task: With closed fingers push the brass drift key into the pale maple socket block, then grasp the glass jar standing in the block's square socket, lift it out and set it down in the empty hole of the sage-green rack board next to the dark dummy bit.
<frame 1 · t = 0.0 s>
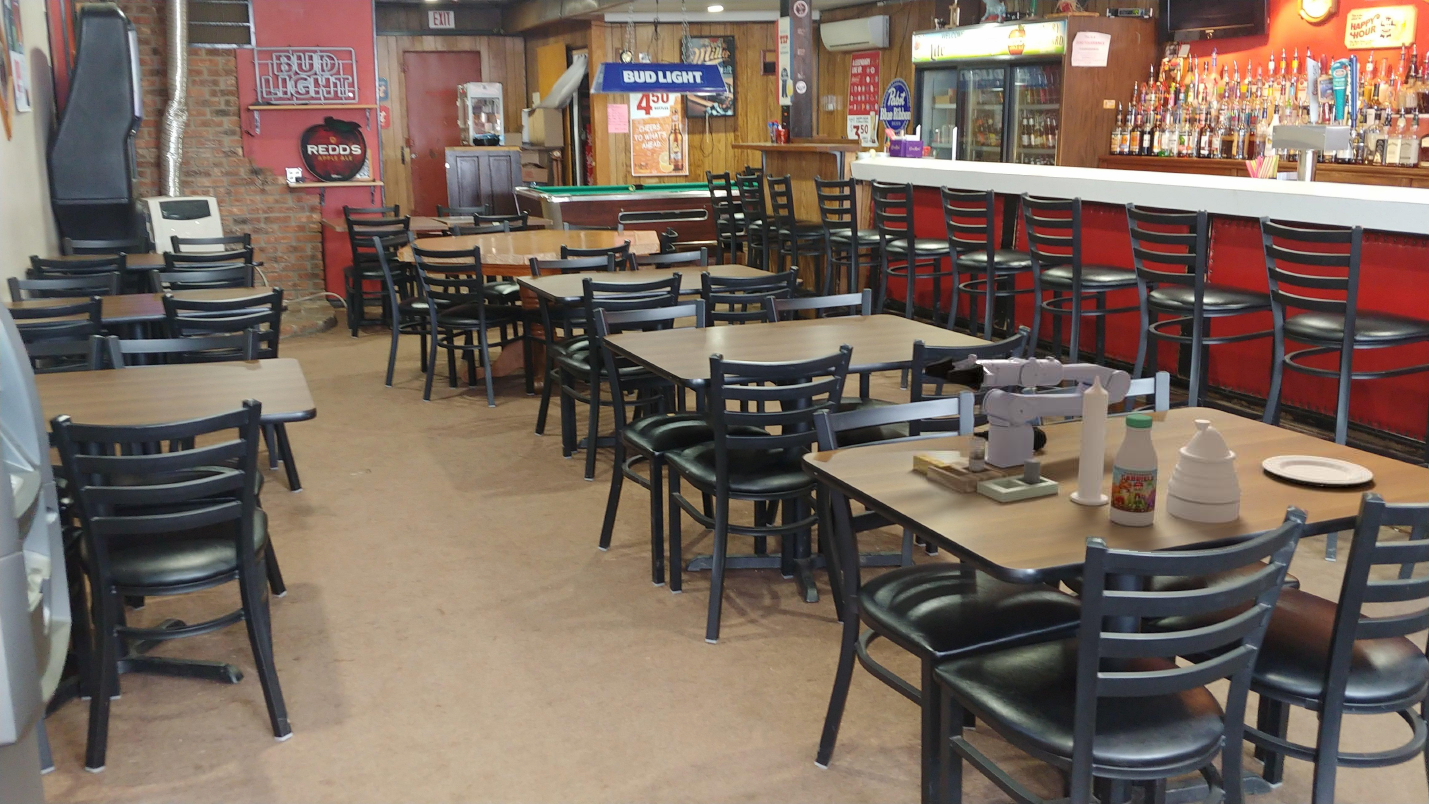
hand: (936, 373, 239), 22 cm above the table, tool horizontal, fingers open, 7 cm apart
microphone: (1010, 444, 267), on the table
honey pot: (1201, 512, 218), on the table
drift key: (931, 466, 243), point 2 cm above the table, slide at 0.0 cm
rack: (1017, 492, 230), on the table
plate: (1315, 477, 240), on the table
socket block: (968, 481, 238), on the table
glass jar: (975, 480, 238), resting in socket block
milk bottle: (1131, 521, 213), on the table
candle: (1088, 501, 225), on the table
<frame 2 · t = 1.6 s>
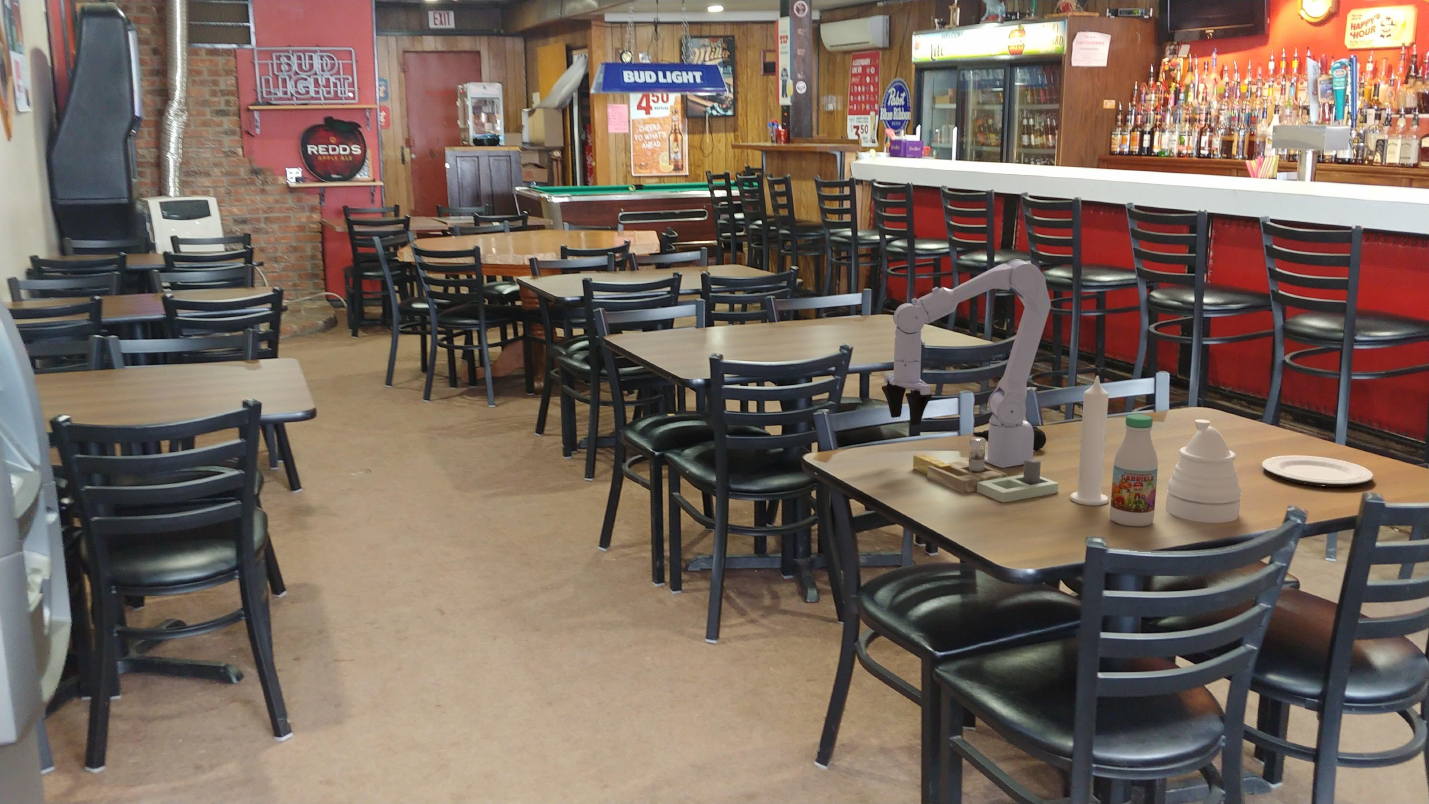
hand: (905, 420, 250), 9 cm above the table, tool pointing down, fingers open, 7 cm apart
nothing on the table moved.
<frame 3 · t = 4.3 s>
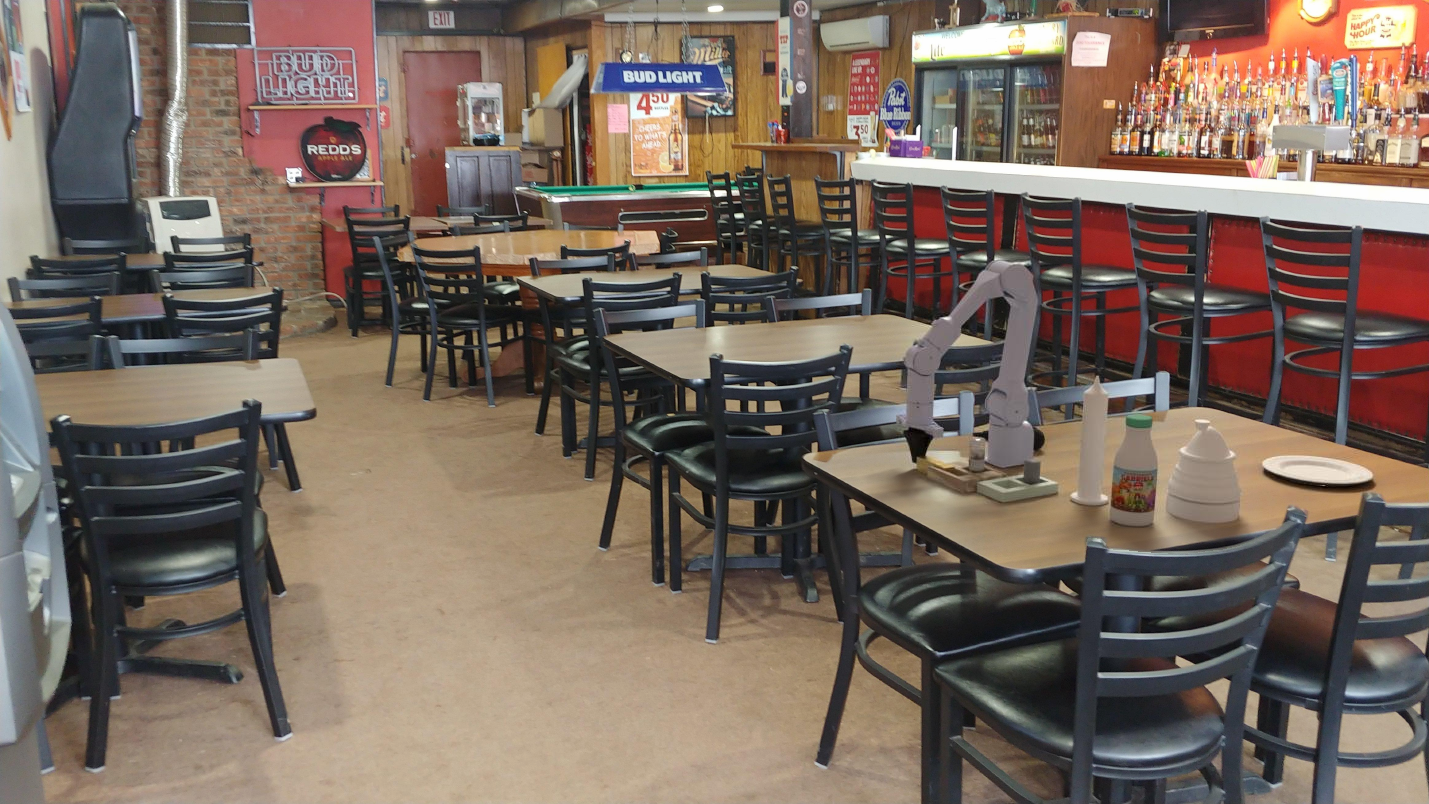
hand: (918, 462, 247), 1 cm above the table, tool pointing down, fingers closed
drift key: (935, 468, 242), point 2 cm above the table, slide at 1.2 cm, touching gripper
everything else where it was.
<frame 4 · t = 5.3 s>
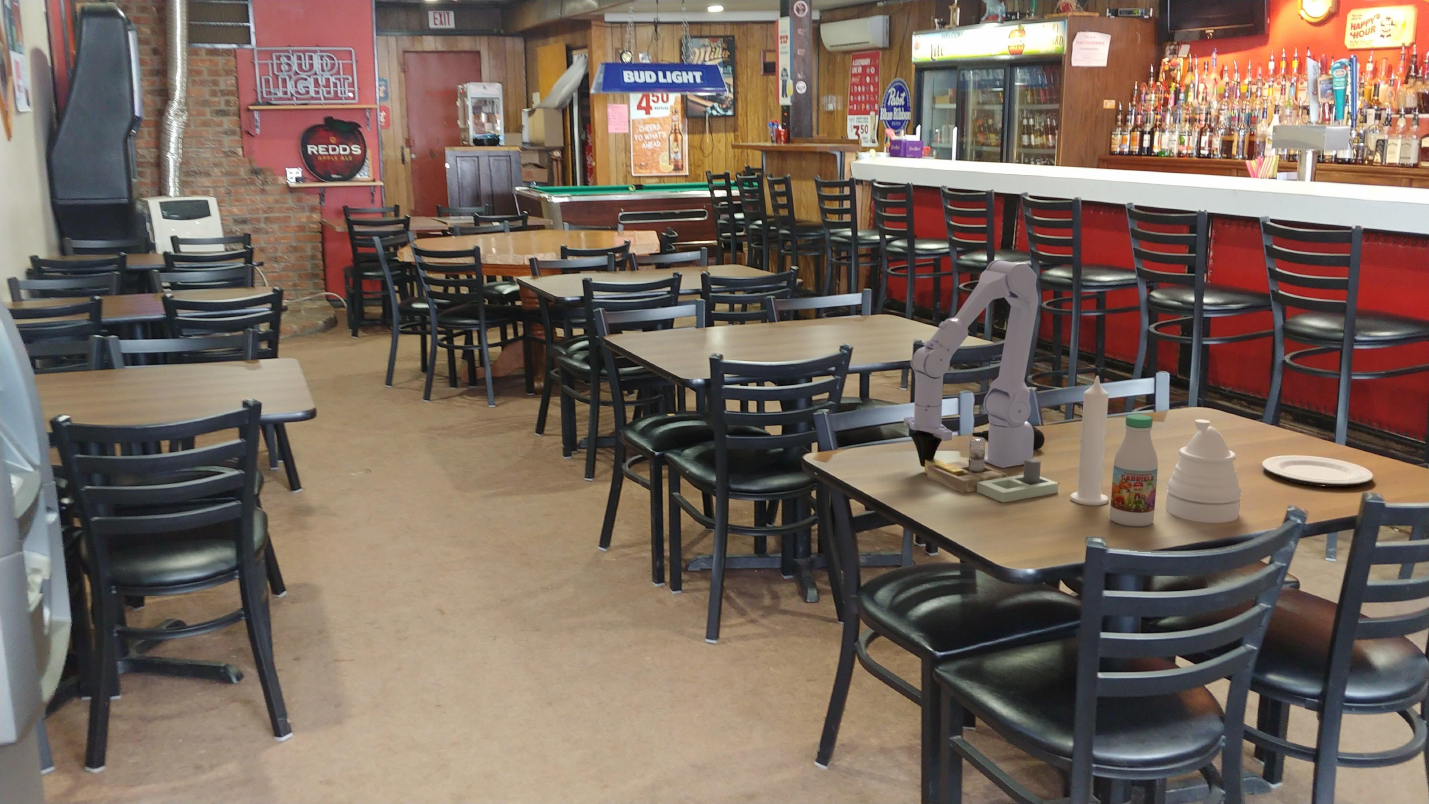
hand: (926, 465, 245), 1 cm above the table, tool pointing down, fingers closed
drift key: (943, 471, 239), point 2 cm above the table, slide at 4.2 cm, touching gripper
everything else where it was.
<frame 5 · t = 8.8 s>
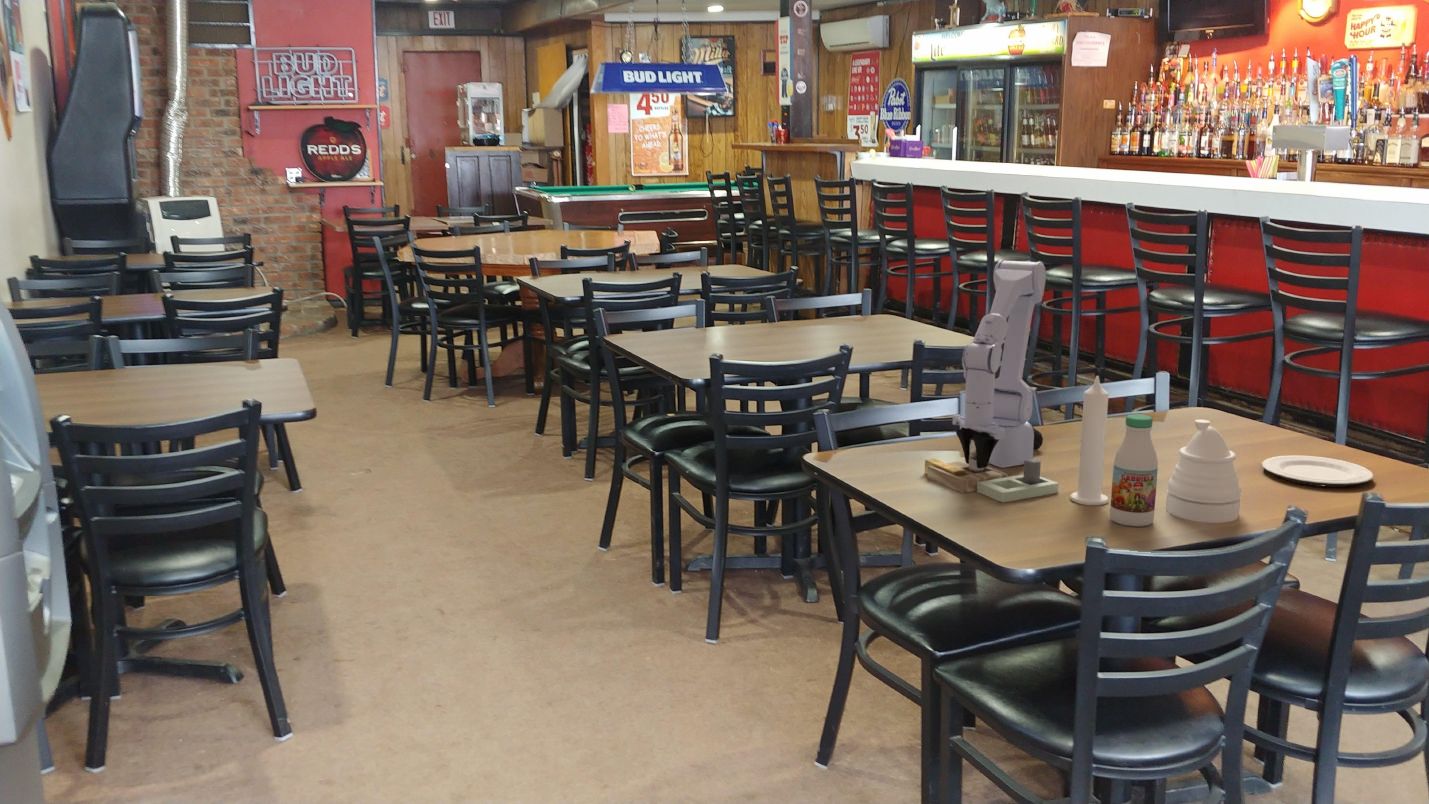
hand: (976, 465, 237), 3 cm above the table, tool pointing down, fingers closed on glass jar, 3 cm apart
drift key: (943, 471, 239), point 2 cm above the table, slide at 4.2 cm
glass jar: (975, 480, 238), resting in socket block, touching gripper
everything else where it was.
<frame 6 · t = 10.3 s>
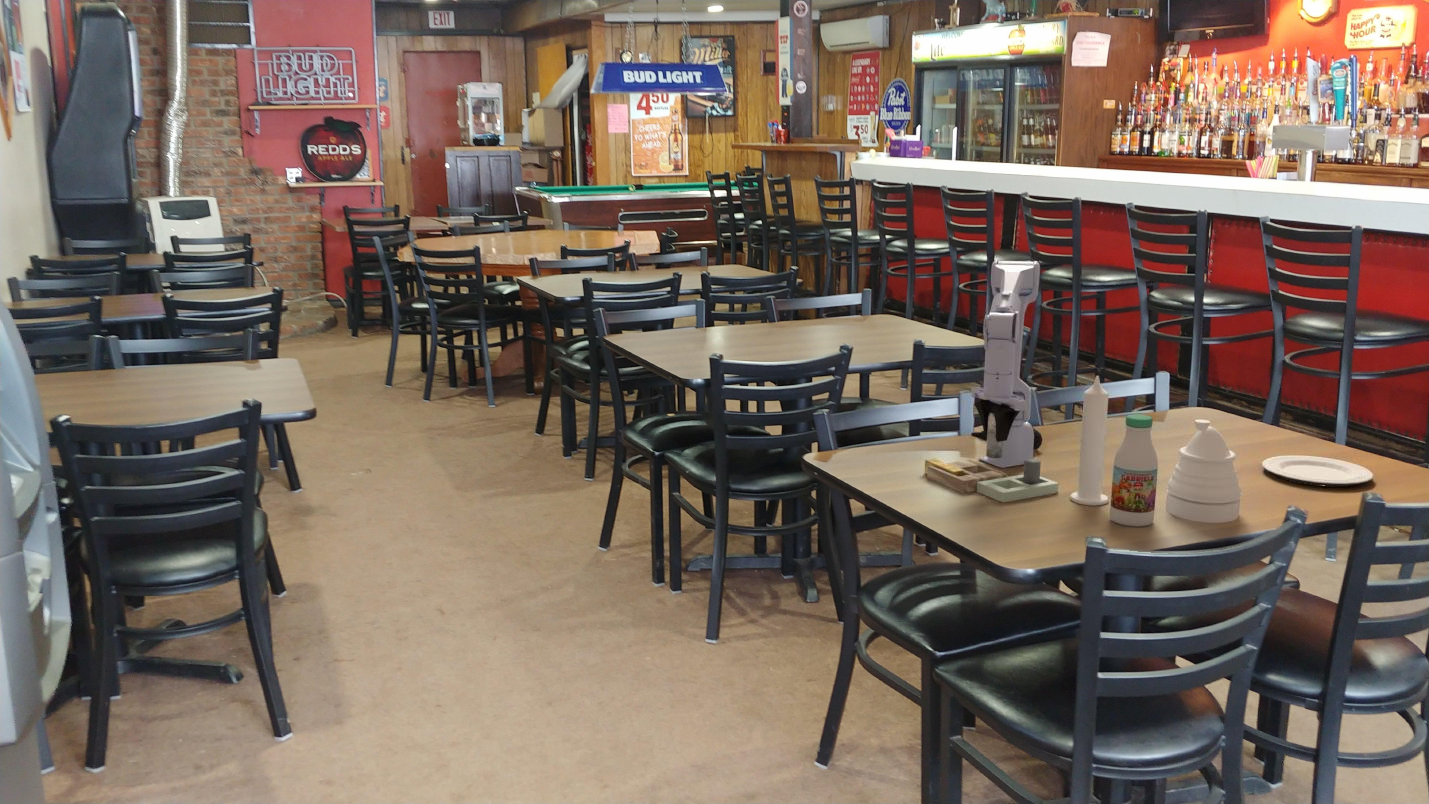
hand: (995, 438, 230), 11 cm above the table, tool pointing down, fingers closed on glass jar, 3 cm apart
glass jar: (994, 456, 231), point 7 cm above the table, touching gripper
everything else where it was.
when the fingers open (4 cm above the table, at t = 12.0 s): glass jar stays where it is, resting in rack.
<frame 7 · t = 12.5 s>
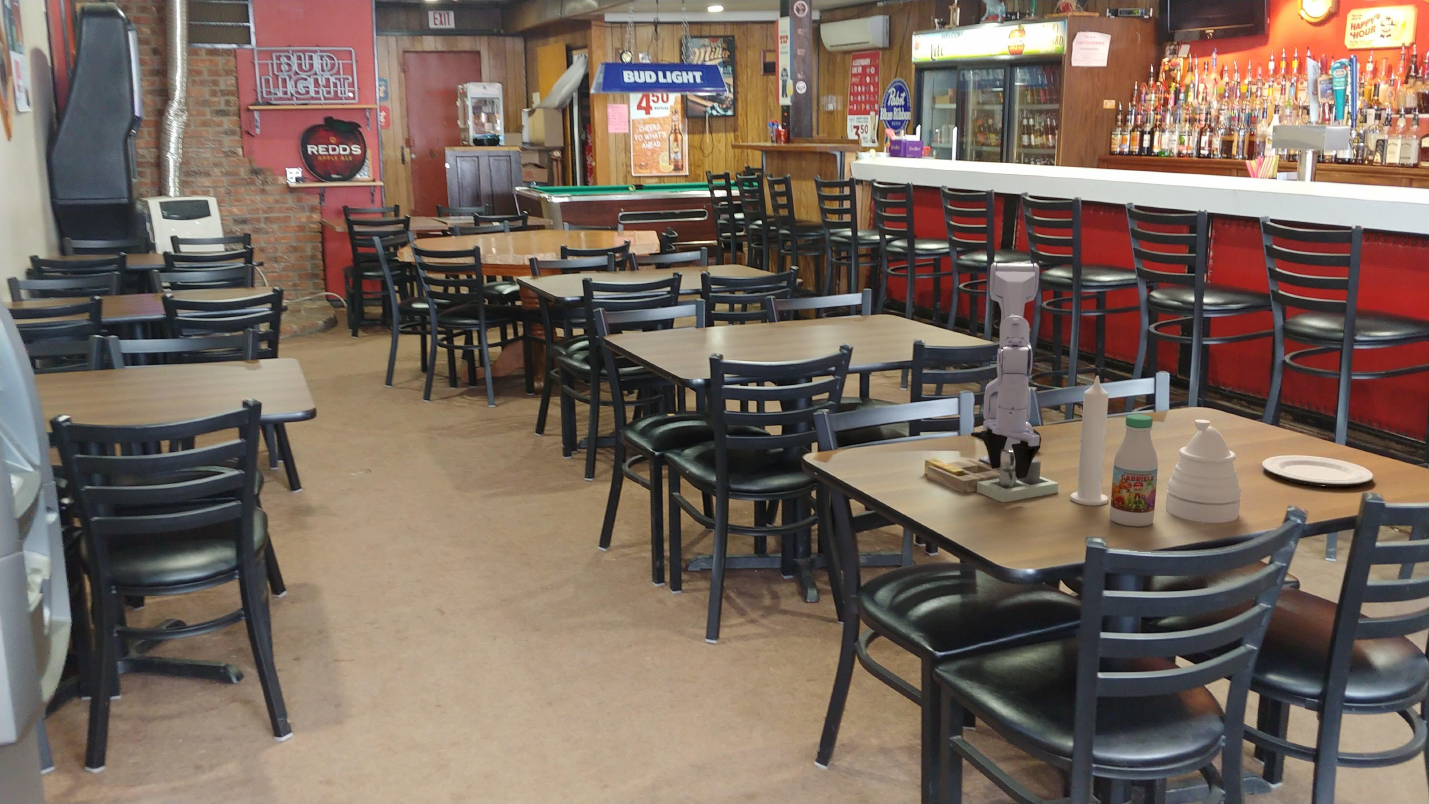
hand: (1008, 472, 228), 4 cm above the table, tool pointing down, fingers open, 7 cm apart
glass jar: (1006, 493, 229), resting in rack
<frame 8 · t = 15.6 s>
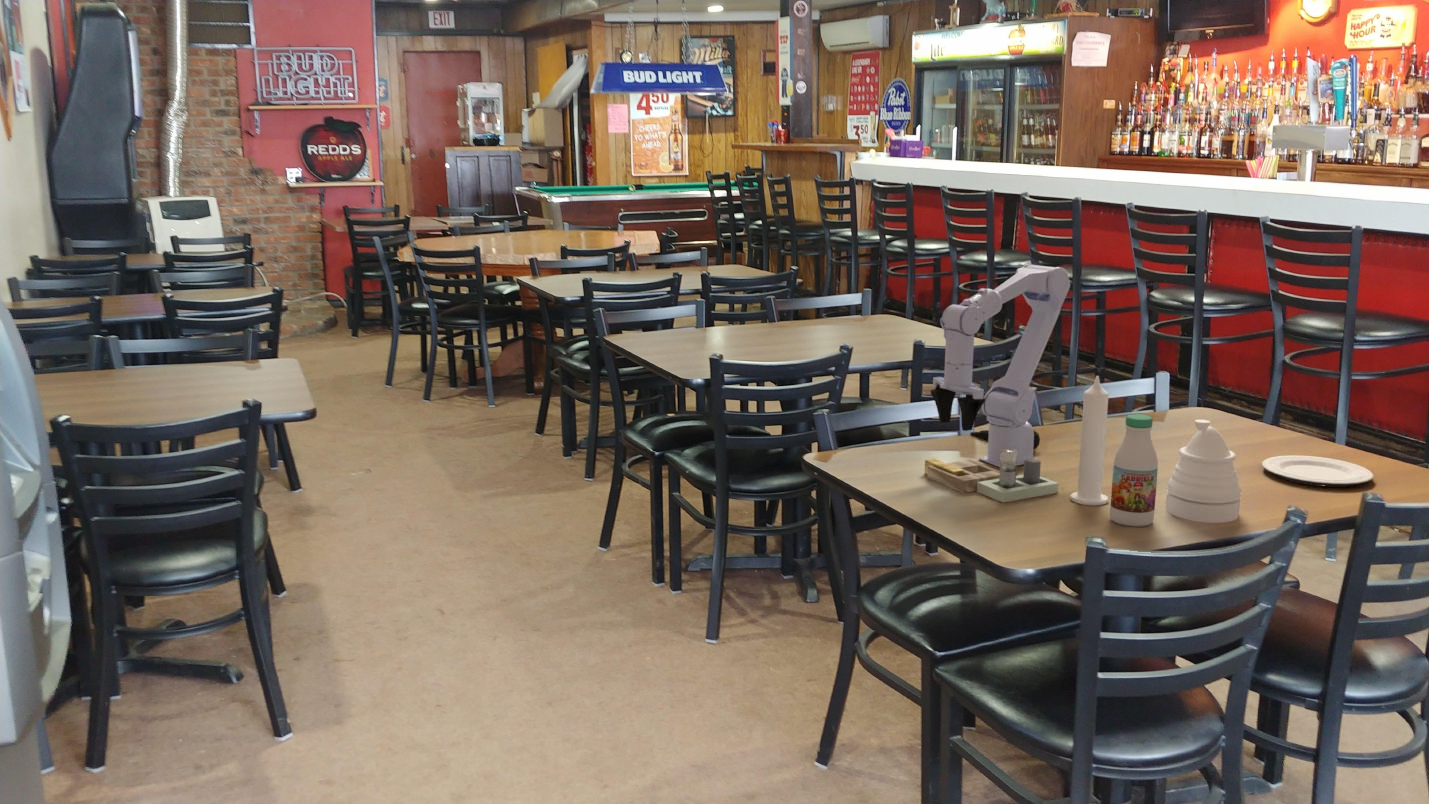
hand: (955, 426, 241), 10 cm above the table, tool pointing down, fingers open, 7 cm apart
at the end: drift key slide at 4.2 cm; glass jar 0.1 cm from the target spot on the rack, point 0.0 cm above the rack's base; glass jar tilted 0° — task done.
